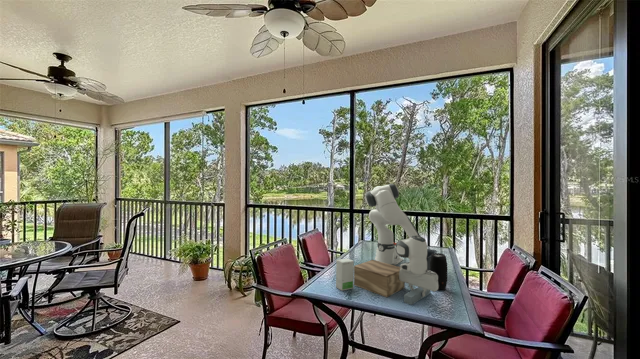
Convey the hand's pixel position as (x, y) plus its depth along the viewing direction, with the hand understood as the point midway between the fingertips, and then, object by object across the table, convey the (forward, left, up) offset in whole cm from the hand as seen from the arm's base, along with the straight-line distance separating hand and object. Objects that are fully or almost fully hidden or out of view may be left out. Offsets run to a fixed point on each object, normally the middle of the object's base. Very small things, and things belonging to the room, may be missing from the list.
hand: (417, 294), depth 140 cm
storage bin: (-36, -16, -2) cm, 39 cm away
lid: (+3, -22, +8) cm, 24 cm away
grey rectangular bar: (0, 0, -2) cm, 2 cm away
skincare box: (+19, -34, -2) cm, 39 cm away
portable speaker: (-20, +2, -2) cm, 20 cm away
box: (+3, -22, -2) cm, 22 cm away
